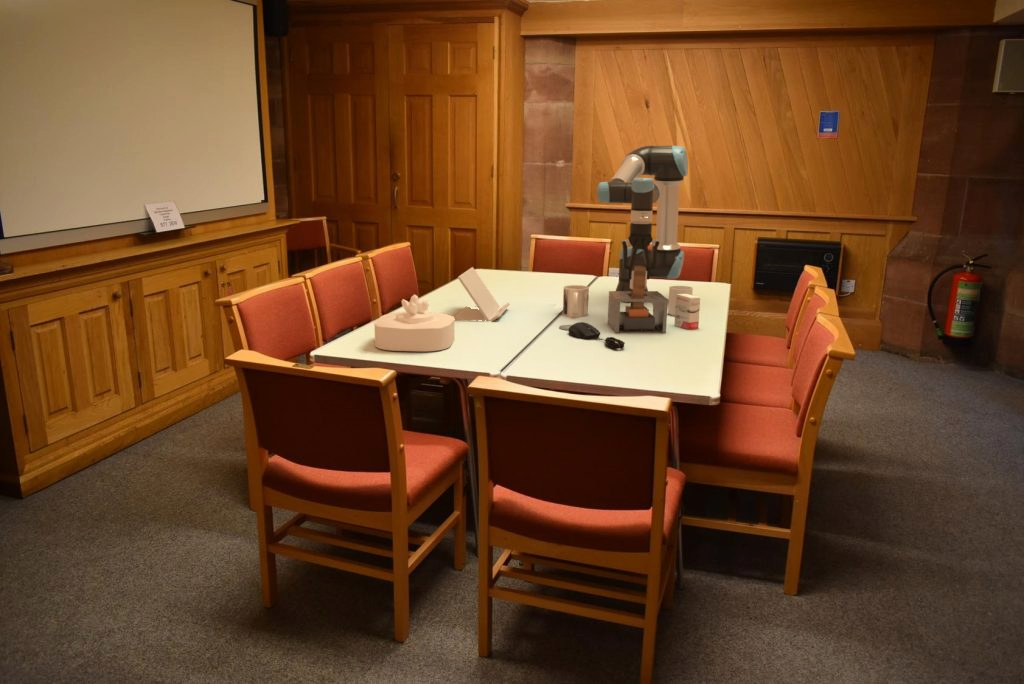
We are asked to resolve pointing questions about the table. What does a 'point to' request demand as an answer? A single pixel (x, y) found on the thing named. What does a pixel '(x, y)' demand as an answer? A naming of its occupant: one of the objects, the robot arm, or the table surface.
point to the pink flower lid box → (414, 329)
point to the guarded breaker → (637, 323)
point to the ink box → (687, 311)
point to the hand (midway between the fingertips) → (637, 288)
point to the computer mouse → (593, 334)
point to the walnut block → (638, 286)
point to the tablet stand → (478, 299)
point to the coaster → (565, 327)
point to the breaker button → (636, 312)
